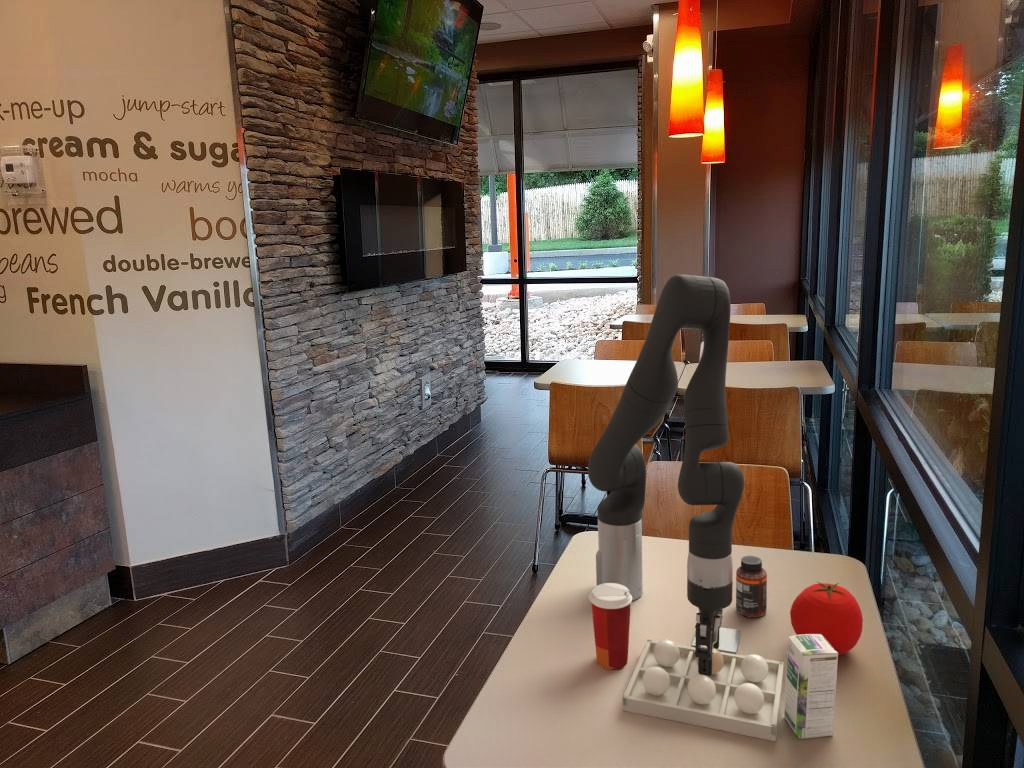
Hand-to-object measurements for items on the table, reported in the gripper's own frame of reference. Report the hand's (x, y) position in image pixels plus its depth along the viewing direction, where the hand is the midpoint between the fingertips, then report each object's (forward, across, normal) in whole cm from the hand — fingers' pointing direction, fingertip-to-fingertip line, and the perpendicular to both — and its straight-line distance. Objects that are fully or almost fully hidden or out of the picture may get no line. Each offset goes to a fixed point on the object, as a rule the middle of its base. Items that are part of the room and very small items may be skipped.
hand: (708, 660), depth 135 cm
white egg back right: (0, 0, +8) cm, 8 cm away
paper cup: (+4, 0, -17) cm, 18 cm away
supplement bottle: (+4, -26, +4) cm, 26 cm away
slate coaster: (+3, -13, 0) cm, 13 cm away
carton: (+3, +4, 0) cm, 6 cm away
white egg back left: (0, 0, -7) cm, 7 cm away
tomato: (+4, -16, +19) cm, 25 cm away
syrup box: (+4, +8, +17) cm, 19 cm away
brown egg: (0, 0, 0) cm, 0 cm away
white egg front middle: (0, +9, 0) cm, 9 cm away
